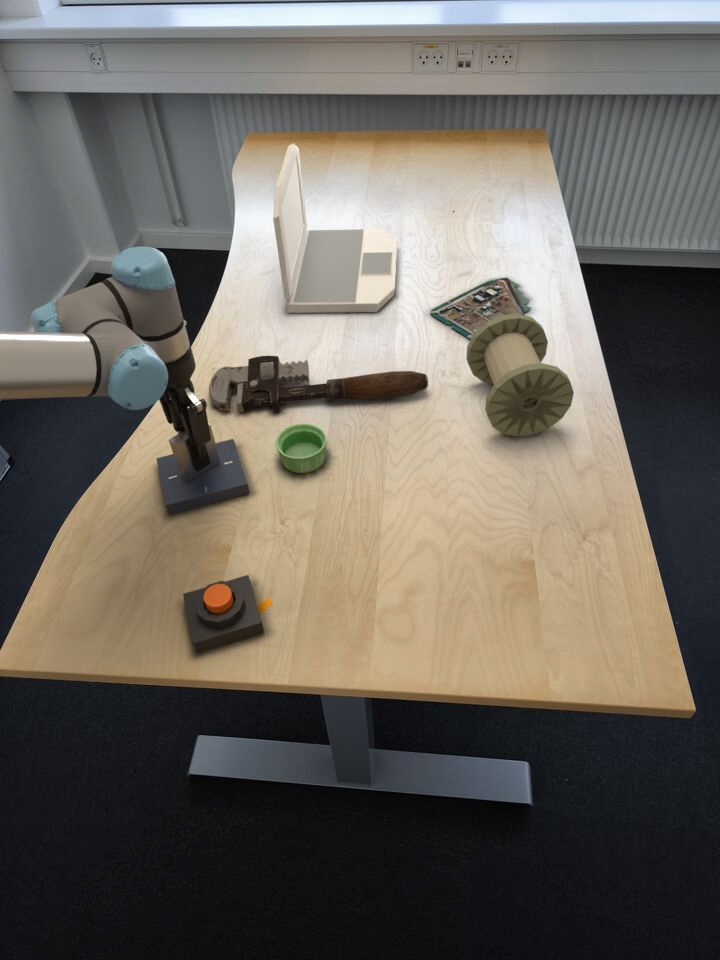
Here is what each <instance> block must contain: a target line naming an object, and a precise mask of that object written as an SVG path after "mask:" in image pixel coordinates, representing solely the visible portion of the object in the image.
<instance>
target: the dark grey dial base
mask: <svg viewBox="0 0 720 960" xmlns="http://www.w3.org/2000/svg"><path fill="white" fill-rule="evenodd" d="M215 444H216V448H217V451H218V455H219V459H220V464H218V465H216V466H215V467H213V468H211V469H210V470H208V471H207V472H205V473H203V474H202V475H200V476H199V477H197V478H195V479H194V480H192V481H190V482H189V483H186V482H185V481H184V480H183V479H182V478H181V476H180V473H179V470H178V467H177V464H176V461H175V458H174V455H173V453H172V454H168V455H163V456H159V457H156V463H157V464H156V465H157V469H158V474H159V479H160V484H161V490H162V494H163V499H164V504H165V507H166V510H167V512H168V515H169V516H170V515H175V514H178V513H182V512H185V511H189V510H193V509H197V508H201V507H204V506H207V505H211V504H214V503H218V502H223V501H226V500H230V499H234V498H238V497H242V496H244V495H248V494H250V493H251V492H250V488H249V483H248V479H247V477H246V474H245V471H244V470H245V469H244V467H243V464H242V461H241V457H240V454H239V452H238V448H237V444H236V441H235V439H234V438H230V439H227V440H223V441H222V440H221V441H219V442H215Z"/></svg>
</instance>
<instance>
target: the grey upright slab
mask: <svg viewBox="0 0 720 960" xmlns="http://www.w3.org/2000/svg"><path fill="white" fill-rule="evenodd" d="M208 425H209V430H210V436H211V441H209V442H207V443H206V444H205V445H206V449H207V452H208V456H209V459H210V463H211V464H210V465H208V466H206V467H205V468H203V469H201V470H200V471H198V472H197V471H196V470H195V467H194V464H193V461H192V458H191V454H190V451H189V448H188V447H187V445H186V442H187V441H189V439H188V436H187V433H186V430H184V431H183V432H181V433H179V434H178V433H177V434H176V435H174V436H172V437H170V438H169V439H168V442H169V446H170V449H171V451H172V454H173V455H174V458H175V461H176V464H177V467H178V470H179V473H180V476H181V478H182V479H183V480H184V481H185V482H186V483H189V482H190V481H192V480H194V479H195V478H197V477H199V476H200V475H202V474H203V473H205V472H207V471H208V470H210V469H211V468H213V467H215V466H216V465H218V464H220V459H219V455H218V451H217V448H216V444H215V443H216V441H215V437H214V433H213V429H212V426H211V424H210V423H209V422H208Z"/></svg>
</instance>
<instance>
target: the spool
mask: <svg viewBox="0 0 720 960" xmlns="http://www.w3.org/2000/svg"><path fill="white" fill-rule="evenodd" d="M548 343H549V341H548V338H547V335H546V331H545V329H544V327H543V326H542V324H540V322H538V321H537V320H536V319H535V318H534V317H533V316H529V315H525V314H518V313H517V314H509V315H501V316H499V317H497V318H495V319H492V320H490V321H488V322H486V323H485V324H484V325H483V326H482V327H480V328H479V329H478V330H477V331H476V332H475V333H474V334H473V336H472V338H471V339H470V340H469V342H468V344H467V346H466V356H465V357H466V359H465V360H466V362H467V364H468V367H469V369H470V371H471V373H472V375H473V376H474V377H475V378H477V379H478V380H479V381H481V383H482V382H483V383H485V384H490V385H492V387H491V389H490V390H489V392H488V393H487V395H486V398H485V406H484V407H485V409H484V410H485V413H486V416H487V418H488V420H489V422H490V424H491V426H492V428H493V429H495V430H497V431H498V432H499V433H500V434H502V435H507V436H512V437H517V438H518V437H526V436H534V435H537V434H539V433H541V432H544V431H545V430H548V429H550V428H552V427H553V426H554V425H555V424H556V423H558V422H559V421H560V420H562V419H564V417H565V414H567V412H568V411H569V409H570V408H571V407H572V403H573V399H574V393H575V392H574V391H575V390H574V388H573V385H572V382H571V380H570V378H569V376H568V374H567V373H565V372H564V371H563V370H562V369H561V368H559V367H558V366H556V365H552V364H548V363H544V362H543V360H544V358H545V357H546V355H547V350H548Z"/></svg>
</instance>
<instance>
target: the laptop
mask: <svg viewBox="0 0 720 960" xmlns="http://www.w3.org/2000/svg"><path fill="white" fill-rule="evenodd" d="M278 174H279V175H278V177H277V181H276V185H275V188H274V198H273V199H274V201H273V202H274V203H273V216H272V217H273V218H272V219H273V226H274V227H273V228H274V234H275V241H276V249H277V255H278V261H279V269H280V275H281V283H282V290H283V291H282V292H283V297H284V299H285V302H286V303H285V305H286V312H287V313H288V314H308V313H309V314H311V313H312V314H313V313H316V314H317V313H318V314H319V313H323V314H324V313H330V314H331V313H377V312H378V311H379V310H381V308H382V307H383V306H385V305H386V304H387V303H388V302H389V301H390V300H391V299H392V298H393V297H394V294H395V290H396V276H397V273H396V272H397V258H398V257H397V254H398V241H397V240H396V239H395V238H394V237H392V236H391V234H389V233H388V232H387V231H386V230H385V229H383V228H381V229H359V228H357V229H312V230H311V229H310V230H307V228H308V223H307V214H306V203H305V194H304V185H303V176H302V175H303V174H302V167H301V157H300V148H299V147H298V146H297V145H296V144H295V143H290V144H289V145H288V146H287V149H286V151H285V155H284V158H283V162H282V165H281V168H280V172H279V173H278Z"/></svg>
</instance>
